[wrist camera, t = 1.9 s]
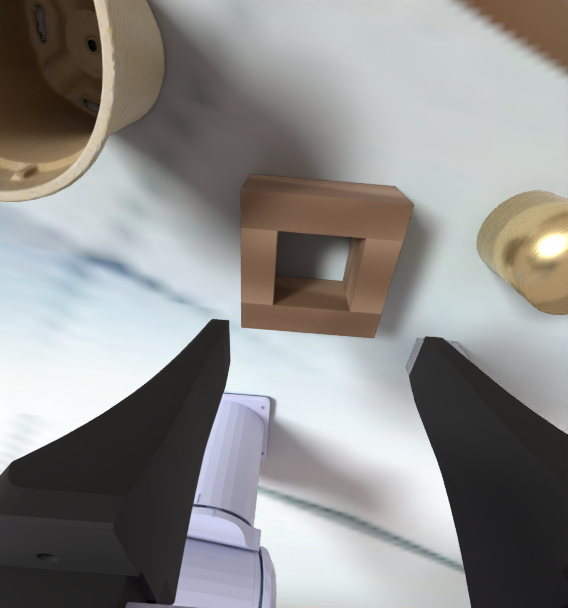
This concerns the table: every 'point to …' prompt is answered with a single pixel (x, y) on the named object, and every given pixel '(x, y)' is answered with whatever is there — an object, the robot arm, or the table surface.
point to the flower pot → (70, 87)
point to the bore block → (325, 221)
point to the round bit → (530, 248)
